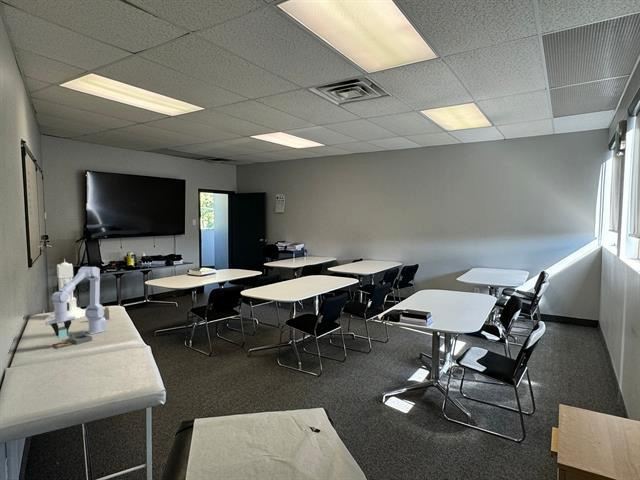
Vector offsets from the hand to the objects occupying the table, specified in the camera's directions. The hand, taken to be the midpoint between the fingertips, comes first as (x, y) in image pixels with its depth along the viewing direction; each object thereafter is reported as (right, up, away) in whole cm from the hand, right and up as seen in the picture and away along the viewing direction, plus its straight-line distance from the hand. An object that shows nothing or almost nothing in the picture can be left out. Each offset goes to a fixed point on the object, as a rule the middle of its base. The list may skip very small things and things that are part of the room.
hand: (61, 334), depth 213 cm
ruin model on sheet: (-9, -4, +52) cm, 53 cm away
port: (+5, -6, +9) cm, 12 cm away
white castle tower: (-40, -3, +61) cm, 74 cm away
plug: (0, -1, 0) cm, 2 cm away
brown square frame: (0, -7, 0) cm, 7 cm away
